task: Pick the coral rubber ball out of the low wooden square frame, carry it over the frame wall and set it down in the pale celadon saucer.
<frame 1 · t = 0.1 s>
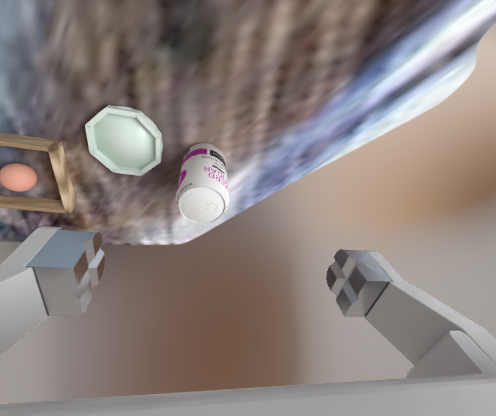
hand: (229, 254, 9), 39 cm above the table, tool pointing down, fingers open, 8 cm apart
soda can: (204, 160, 48), on the table
wooden square frame: (27, 170, 45), on the table
ball: (18, 177, 43), point 2 cm above the table
saucer: (128, 140, 44), on the table
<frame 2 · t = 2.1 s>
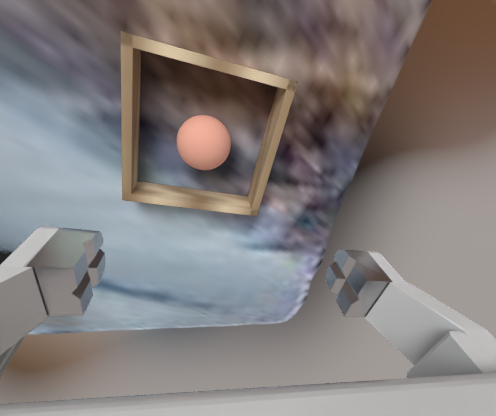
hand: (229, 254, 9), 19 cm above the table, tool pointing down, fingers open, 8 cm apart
wooden square frame: (203, 136, 25), on the table
ball: (204, 143, 23), point 2 cm above the table
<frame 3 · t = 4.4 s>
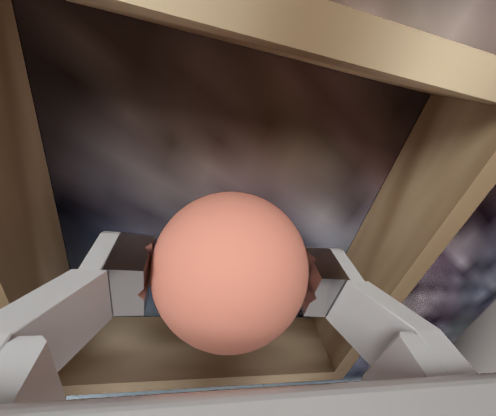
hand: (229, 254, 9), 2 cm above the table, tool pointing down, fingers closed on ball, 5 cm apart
wooden square frame: (226, 223, 10), on the table
ball: (231, 267, 8), point 2 cm above the table, touching gripper
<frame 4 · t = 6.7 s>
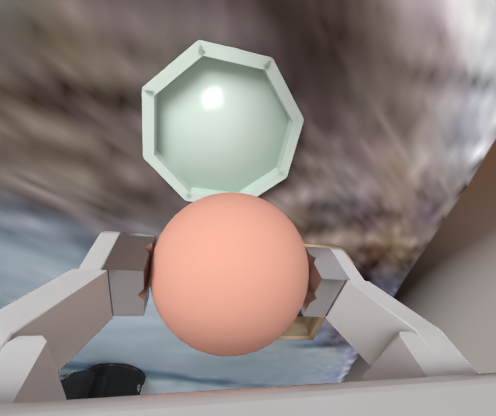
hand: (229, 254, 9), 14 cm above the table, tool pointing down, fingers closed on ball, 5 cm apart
wooden square frame: (272, 284, 31), on the table
milk frother: (86, 376, 37), on the table
ball: (231, 267, 8), point 15 cm above the table, touching gripper
saucer: (222, 131, 20), on the table
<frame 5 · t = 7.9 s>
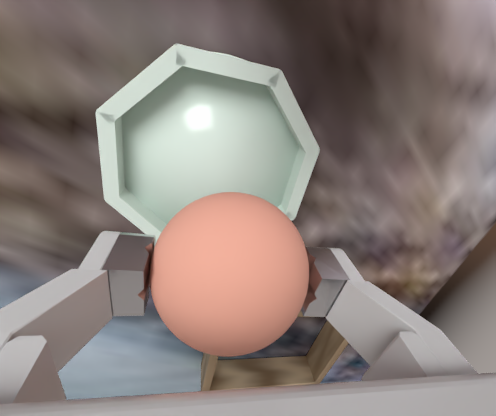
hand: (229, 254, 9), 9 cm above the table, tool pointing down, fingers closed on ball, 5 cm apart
wooden square frame: (272, 327, 27), on the table
ball: (231, 267, 8), point 9 cm above the table, touching gripper
saucer: (212, 162, 16), on the table
when the fingers open (4 cm above the table, at t = 9.0 s): ball drops 1 cm, resting on saucer.
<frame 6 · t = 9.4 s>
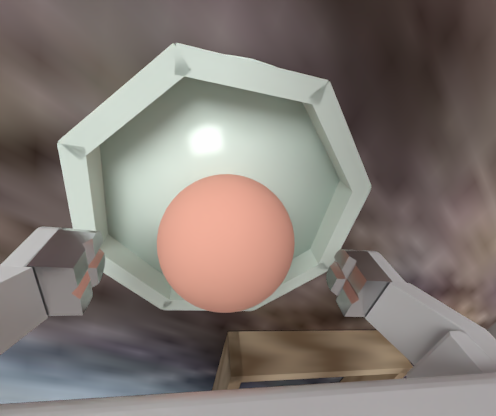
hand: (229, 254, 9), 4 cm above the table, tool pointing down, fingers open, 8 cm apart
wooden square frame: (289, 375, 23), on the table
ball: (227, 240, 9), point 3 cm above the table, touching saucer
saucer: (224, 198, 12), on the table
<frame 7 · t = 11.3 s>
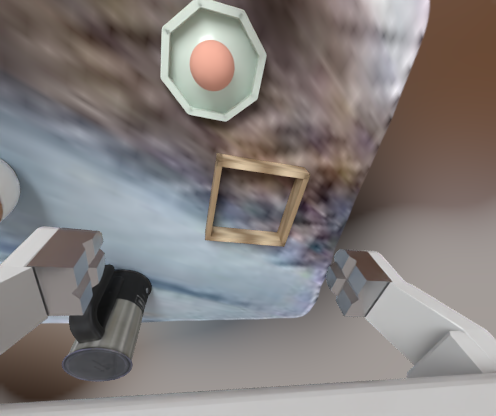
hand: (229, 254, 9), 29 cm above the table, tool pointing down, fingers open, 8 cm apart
wooden square frame: (252, 199, 41), on the table
milk frother: (104, 283, 47), on the table
ball: (212, 66, 27), point 3 cm above the table, touching saucer
saucer: (213, 66, 30), on the table
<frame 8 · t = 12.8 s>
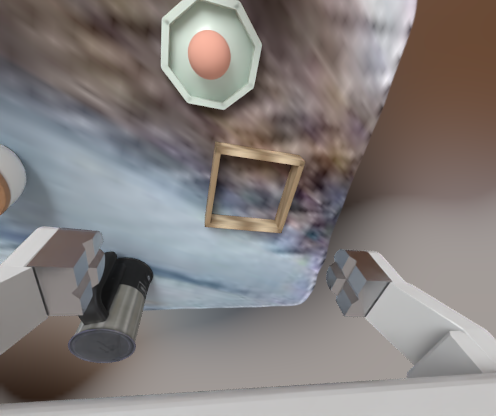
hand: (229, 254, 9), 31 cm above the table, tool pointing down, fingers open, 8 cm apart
wooden square frame: (250, 187, 42), on the table
milk frother: (107, 271, 48), on the table
ball: (209, 55, 29), point 3 cm above the table, tilted 5°, touching saucer
saucer: (211, 56, 32), on the table
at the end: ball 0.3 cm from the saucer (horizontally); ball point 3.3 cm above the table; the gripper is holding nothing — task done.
